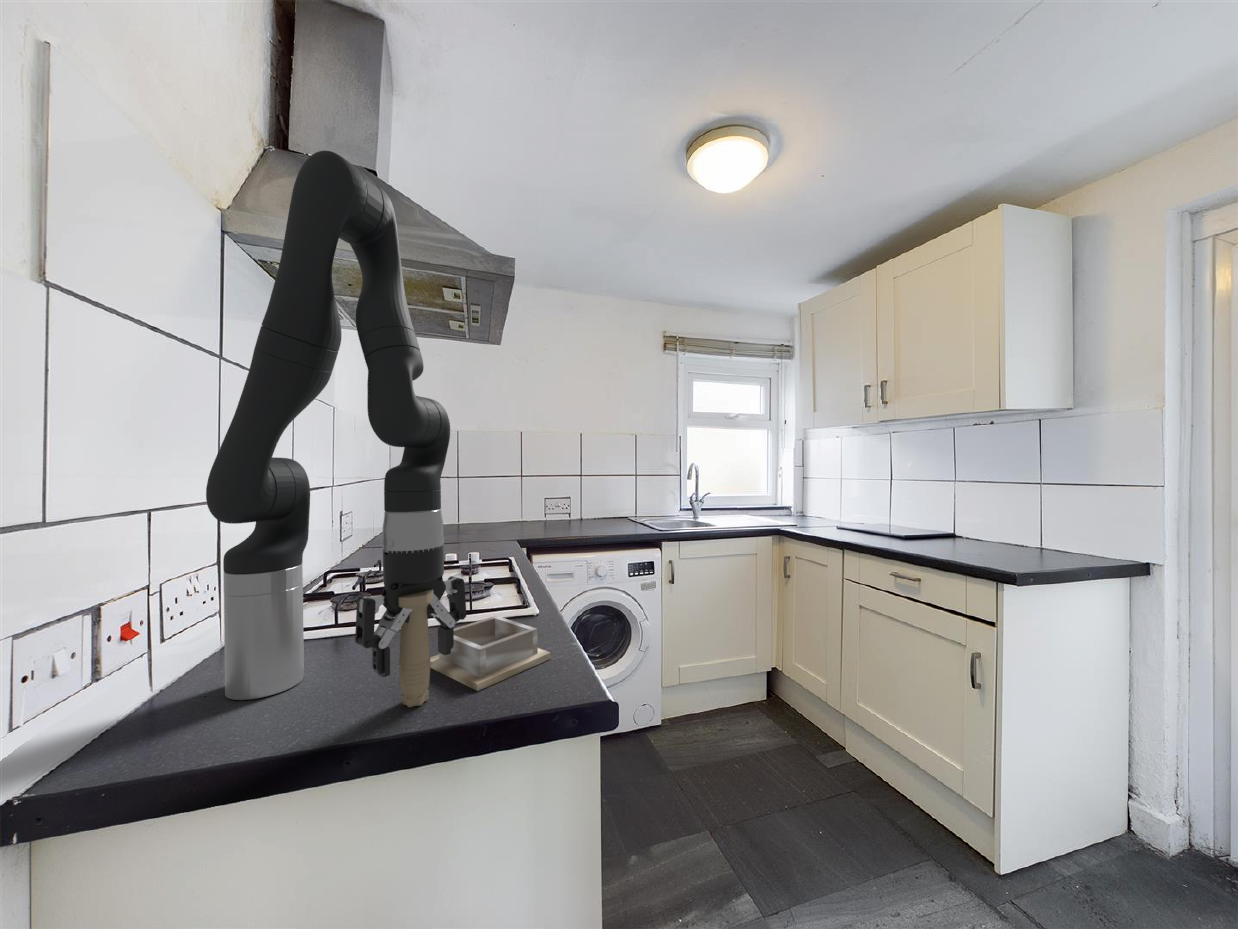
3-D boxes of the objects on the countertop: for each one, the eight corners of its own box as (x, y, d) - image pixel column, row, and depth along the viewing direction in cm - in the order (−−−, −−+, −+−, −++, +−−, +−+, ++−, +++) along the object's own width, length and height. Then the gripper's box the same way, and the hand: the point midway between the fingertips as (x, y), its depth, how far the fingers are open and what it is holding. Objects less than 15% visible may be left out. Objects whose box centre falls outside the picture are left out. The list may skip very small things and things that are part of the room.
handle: (434, 688, 68) (433, 583, 68) (434, 710, 62) (433, 595, 62) (397, 695, 66) (395, 587, 66) (393, 717, 60) (392, 599, 60)
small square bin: (425, 665, 76) (425, 634, 76) (498, 639, 87) (497, 612, 87) (477, 691, 67) (477, 655, 67) (550, 658, 78) (550, 628, 78)
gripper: (446, 534, 72) (448, 641, 72) (345, 548, 61) (346, 675, 61) (475, 539, 67) (477, 653, 67) (371, 555, 56) (373, 692, 56)
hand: (415, 663), depth 64 cm, fingers open, 8 cm apart
